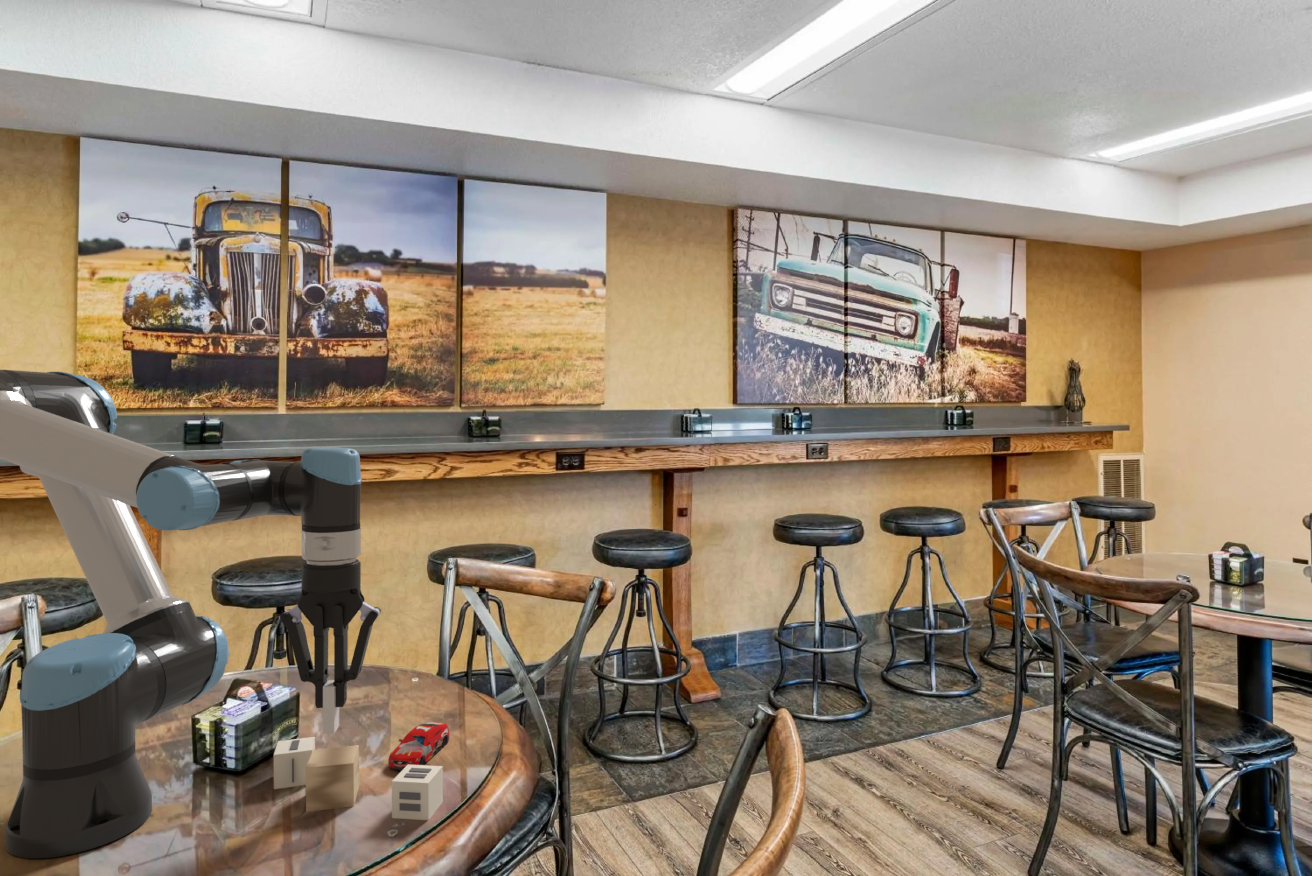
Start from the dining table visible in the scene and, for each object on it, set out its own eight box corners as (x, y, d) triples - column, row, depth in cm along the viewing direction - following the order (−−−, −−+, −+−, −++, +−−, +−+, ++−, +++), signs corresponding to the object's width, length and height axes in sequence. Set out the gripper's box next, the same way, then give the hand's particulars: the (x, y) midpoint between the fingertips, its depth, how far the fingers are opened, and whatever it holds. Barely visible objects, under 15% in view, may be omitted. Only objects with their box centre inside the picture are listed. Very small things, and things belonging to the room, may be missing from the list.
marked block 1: (273, 791, 110) (273, 755, 110) (278, 774, 115) (278, 740, 115) (312, 786, 112) (311, 750, 111) (315, 769, 117) (314, 735, 117)
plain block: (306, 812, 104) (305, 768, 104) (314, 791, 110) (313, 749, 110) (353, 806, 106) (353, 763, 105) (359, 786, 111) (358, 745, 111)
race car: (415, 777, 115) (414, 750, 115) (381, 773, 116) (381, 747, 116) (455, 740, 128) (455, 716, 128) (425, 737, 129) (425, 713, 129)
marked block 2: (391, 819, 102) (391, 780, 102) (408, 800, 107) (407, 763, 107) (428, 821, 102) (428, 782, 102) (442, 802, 107) (442, 765, 107)
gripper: (272, 566, 102) (271, 743, 103) (375, 564, 104) (374, 738, 105) (289, 555, 110) (289, 721, 110) (385, 554, 112) (385, 717, 112)
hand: (331, 729), depth 108 cm, fingers closed
